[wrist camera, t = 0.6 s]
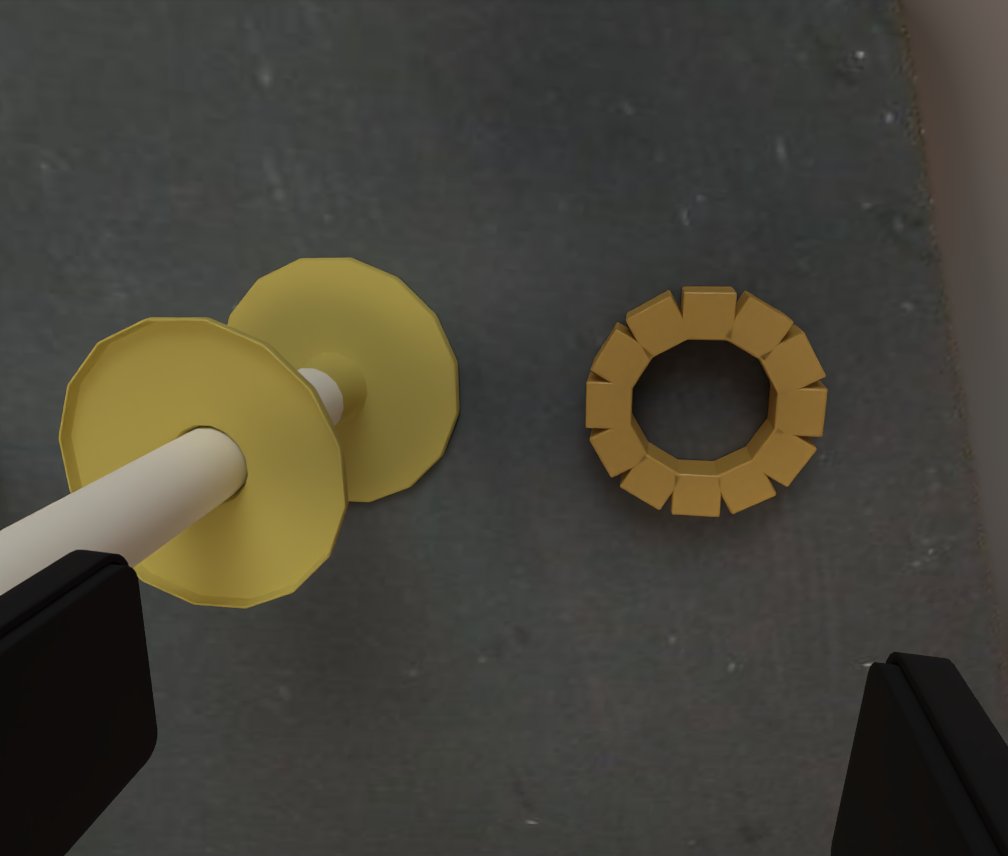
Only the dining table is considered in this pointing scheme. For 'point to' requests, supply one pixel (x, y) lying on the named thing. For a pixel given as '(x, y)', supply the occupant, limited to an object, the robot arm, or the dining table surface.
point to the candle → (246, 434)
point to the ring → (741, 472)
